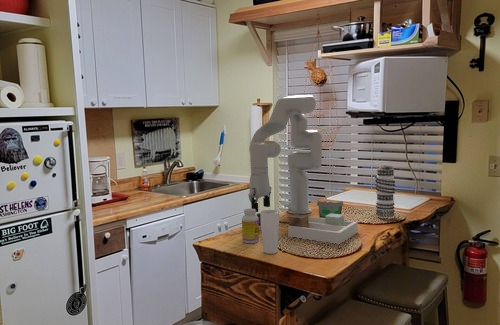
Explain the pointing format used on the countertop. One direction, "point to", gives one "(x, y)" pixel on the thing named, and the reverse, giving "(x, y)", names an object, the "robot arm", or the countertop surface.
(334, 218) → the sage block
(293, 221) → the brown block with stick
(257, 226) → the supplement bottle
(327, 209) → the food container
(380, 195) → the decorative candle
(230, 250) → the countertop surface
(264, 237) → the drinking glass
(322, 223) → the white tray
